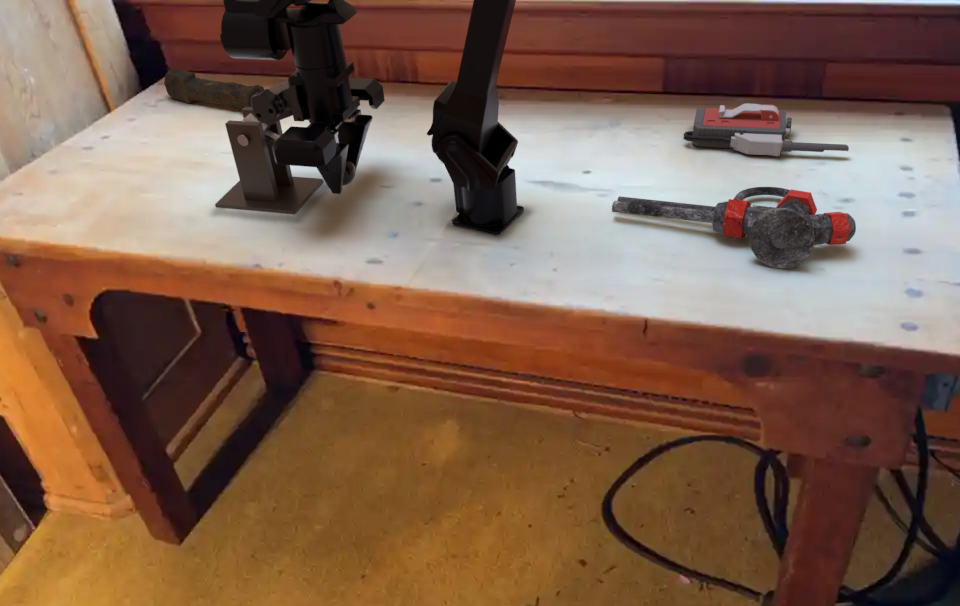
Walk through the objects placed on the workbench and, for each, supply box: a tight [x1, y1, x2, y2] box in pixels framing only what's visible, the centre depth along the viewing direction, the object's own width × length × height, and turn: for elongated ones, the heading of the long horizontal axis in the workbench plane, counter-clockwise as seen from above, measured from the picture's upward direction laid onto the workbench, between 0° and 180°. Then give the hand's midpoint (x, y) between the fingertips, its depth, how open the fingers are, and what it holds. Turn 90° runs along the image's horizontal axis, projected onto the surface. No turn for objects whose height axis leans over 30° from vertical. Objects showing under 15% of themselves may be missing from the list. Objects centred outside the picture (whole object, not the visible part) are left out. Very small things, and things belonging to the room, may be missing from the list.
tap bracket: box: [214, 107, 324, 215], centre depth 111 cm, size 11×8×11 cm
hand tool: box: [163, 69, 265, 110], centre depth 140 cm, size 19×4×5 cm, turn 60°
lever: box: [241, 113, 356, 187], centre depth 109 cm, size 15×4×4 cm, turn 73°
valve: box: [611, 186, 857, 269], centre depth 100 cm, size 6×26×15 cm
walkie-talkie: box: [683, 102, 850, 157], centre depth 115 cm, size 9×4×20 cm
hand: (343, 185), depth 110 cm, fingers closed on lever, 3 cm apart
